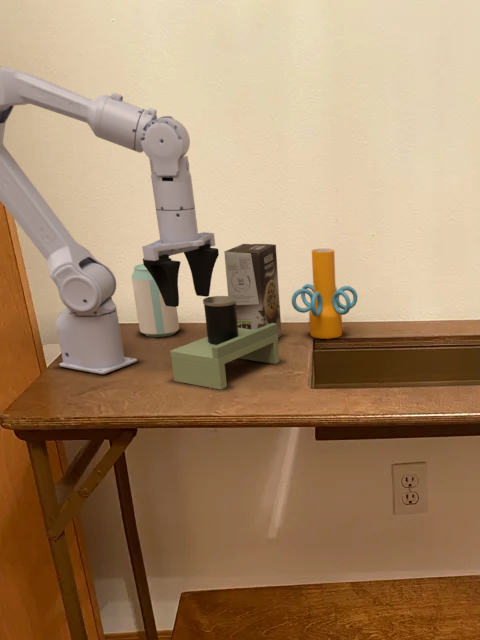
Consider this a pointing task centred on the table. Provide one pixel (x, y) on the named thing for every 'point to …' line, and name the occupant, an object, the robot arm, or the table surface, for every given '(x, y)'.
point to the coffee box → (254, 285)
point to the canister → (220, 319)
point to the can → (152, 306)
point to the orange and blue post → (324, 297)
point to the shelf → (223, 356)
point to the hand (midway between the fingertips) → (187, 300)
